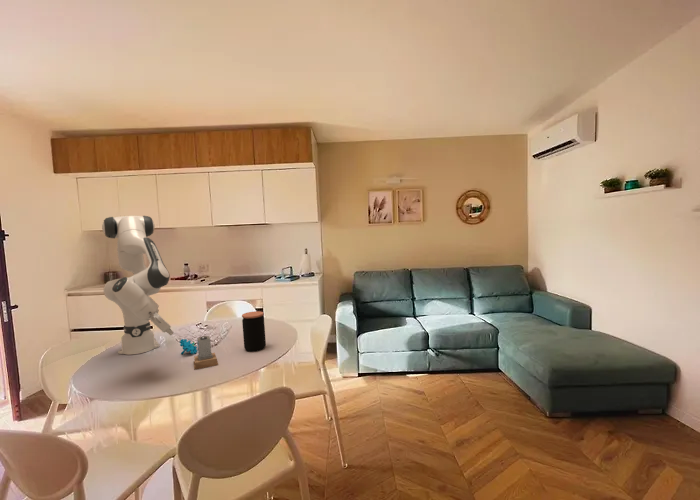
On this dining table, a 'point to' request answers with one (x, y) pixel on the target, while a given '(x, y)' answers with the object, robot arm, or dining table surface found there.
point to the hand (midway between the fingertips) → (168, 330)
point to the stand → (205, 362)
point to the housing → (204, 348)
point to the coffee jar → (253, 331)
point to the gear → (188, 346)
